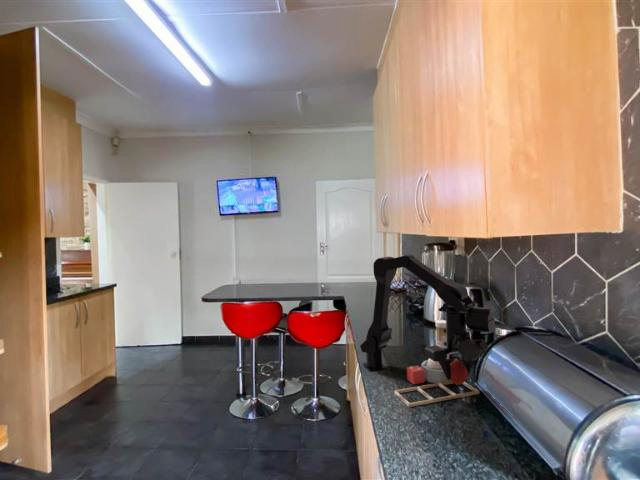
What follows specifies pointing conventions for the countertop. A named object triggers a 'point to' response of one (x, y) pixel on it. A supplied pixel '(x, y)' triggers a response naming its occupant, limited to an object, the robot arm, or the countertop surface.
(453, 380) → the onion
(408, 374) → the dome base
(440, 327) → the sprinkles bottle
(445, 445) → the countertop surface
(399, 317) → the countertop surface
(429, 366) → the dome
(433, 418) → the countertop surface
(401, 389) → the wooden frame with crossbars
